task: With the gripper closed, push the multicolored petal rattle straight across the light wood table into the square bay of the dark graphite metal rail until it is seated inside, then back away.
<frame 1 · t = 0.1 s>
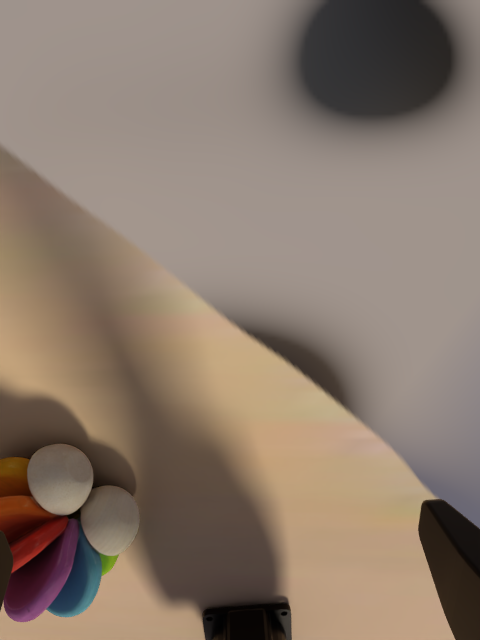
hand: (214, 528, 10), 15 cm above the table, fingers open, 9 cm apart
multicolored petal rattle: (64, 491, 28), on the table
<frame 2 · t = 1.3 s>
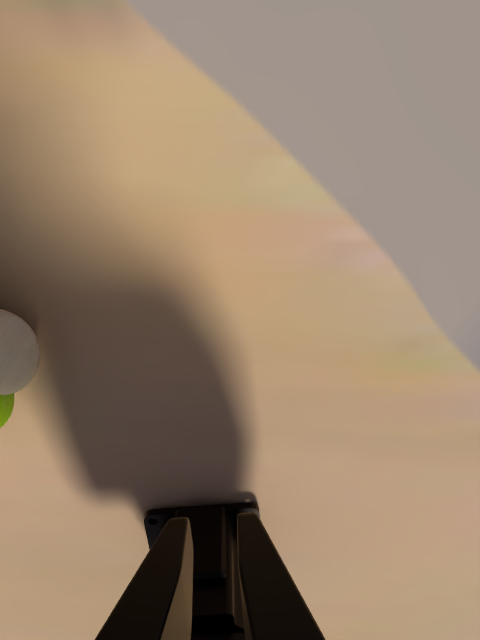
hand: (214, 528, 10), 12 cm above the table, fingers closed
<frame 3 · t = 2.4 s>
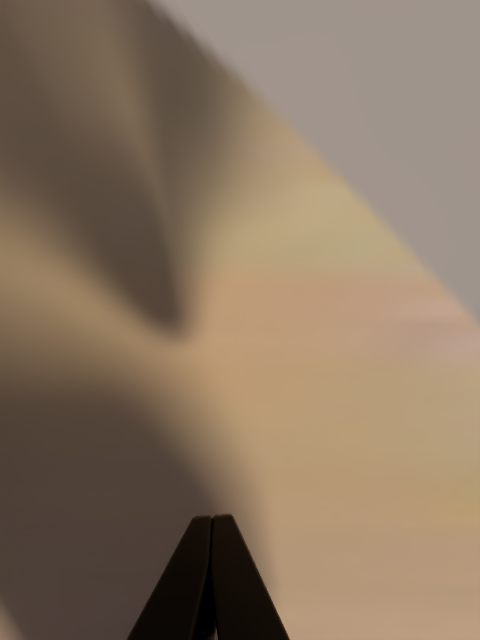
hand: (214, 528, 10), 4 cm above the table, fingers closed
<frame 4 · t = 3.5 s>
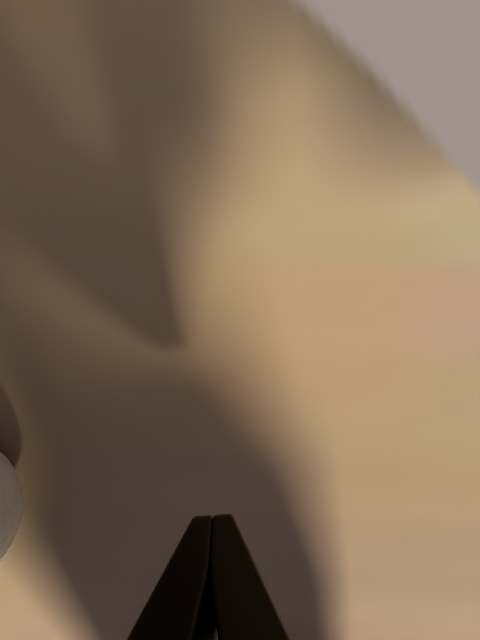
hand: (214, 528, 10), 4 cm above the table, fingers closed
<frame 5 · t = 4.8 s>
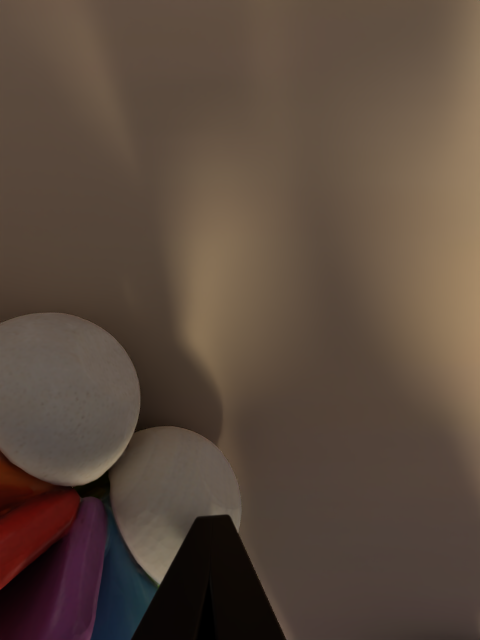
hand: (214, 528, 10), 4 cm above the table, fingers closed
multicolored petal rattle: (66, 445, 13), on the table, touching gripper
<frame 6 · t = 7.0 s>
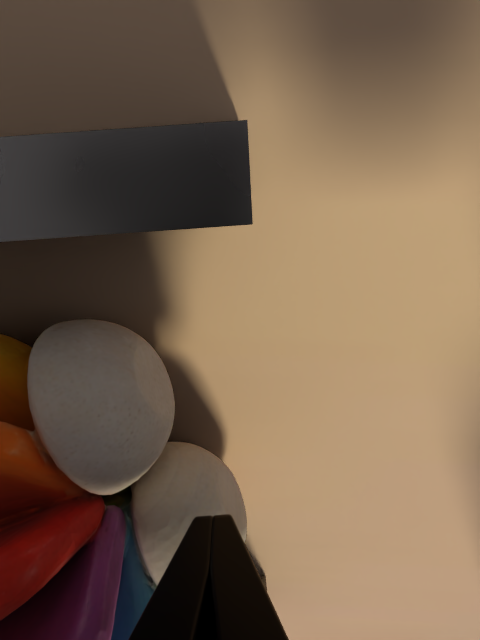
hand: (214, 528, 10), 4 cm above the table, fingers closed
multicolored petal rattle: (76, 443, 13), on the table, touching gripper
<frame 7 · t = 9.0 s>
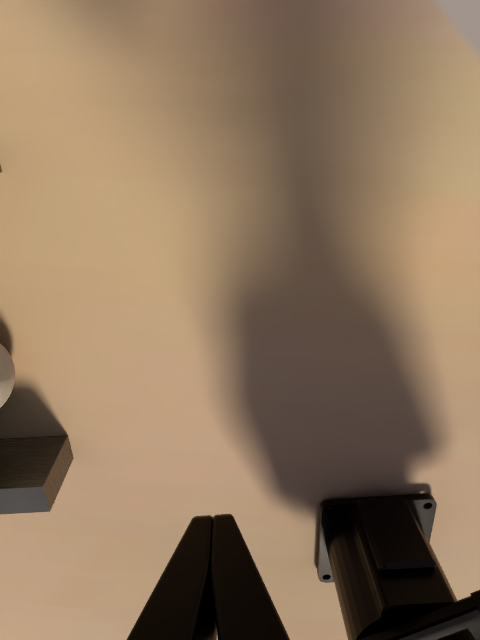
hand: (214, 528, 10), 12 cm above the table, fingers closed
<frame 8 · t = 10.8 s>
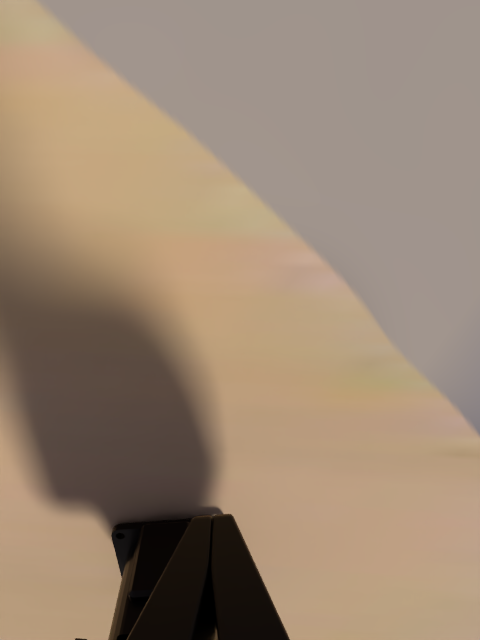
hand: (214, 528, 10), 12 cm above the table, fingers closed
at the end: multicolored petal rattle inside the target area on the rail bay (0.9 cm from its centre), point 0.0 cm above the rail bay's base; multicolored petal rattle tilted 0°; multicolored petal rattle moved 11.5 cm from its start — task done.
